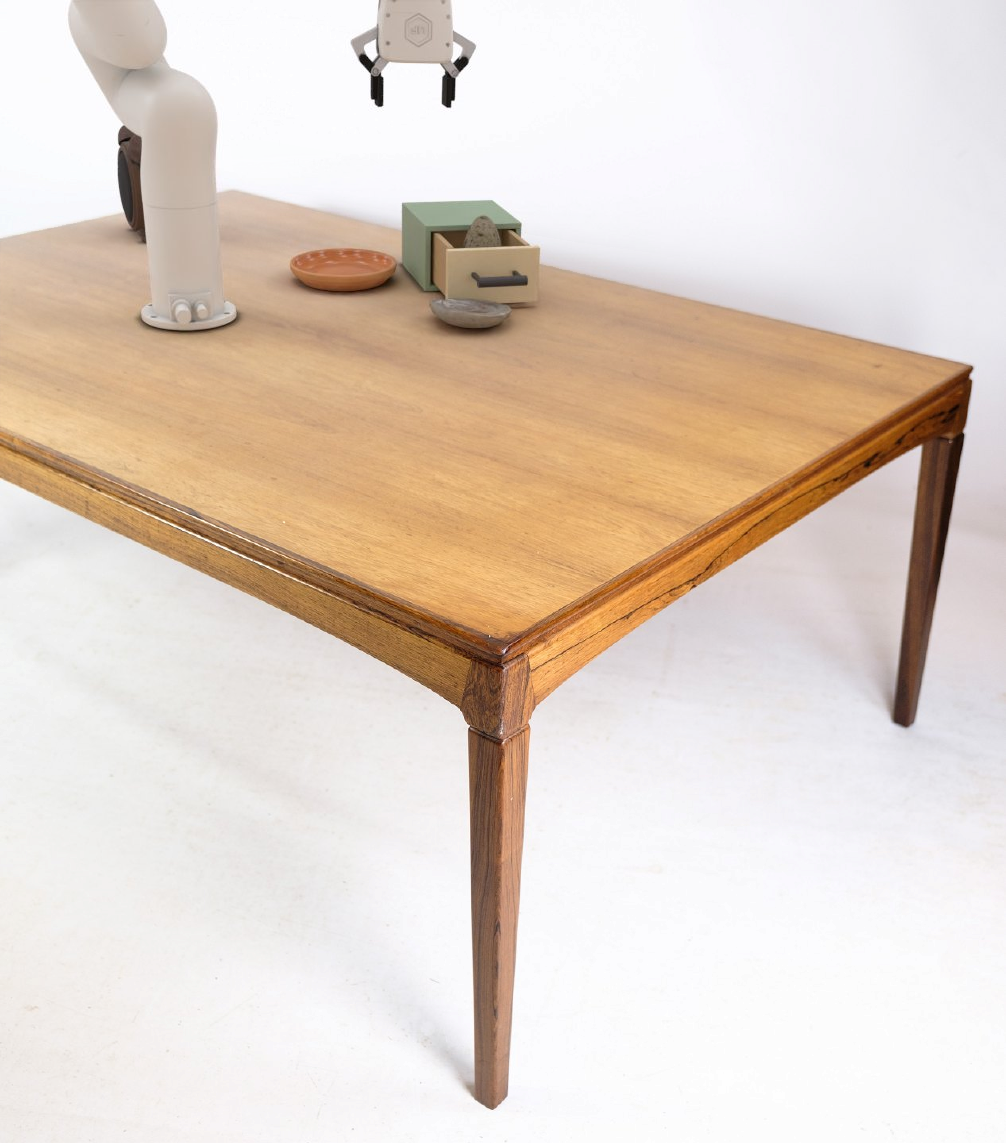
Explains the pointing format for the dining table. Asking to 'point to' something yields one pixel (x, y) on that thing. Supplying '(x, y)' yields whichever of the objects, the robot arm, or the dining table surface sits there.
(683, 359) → the dining table surface
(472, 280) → the drawer
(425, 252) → the cabinet
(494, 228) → the decorative egg
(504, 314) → the fossil
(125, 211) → the alarm clock
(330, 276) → the saucer
